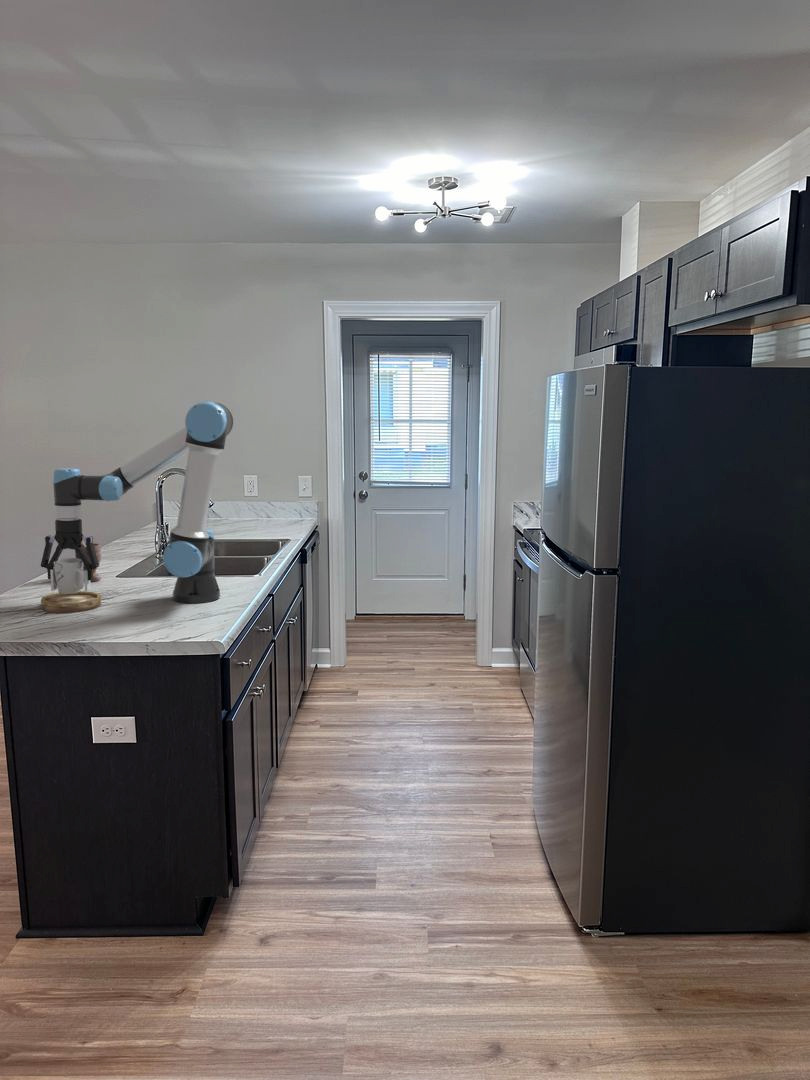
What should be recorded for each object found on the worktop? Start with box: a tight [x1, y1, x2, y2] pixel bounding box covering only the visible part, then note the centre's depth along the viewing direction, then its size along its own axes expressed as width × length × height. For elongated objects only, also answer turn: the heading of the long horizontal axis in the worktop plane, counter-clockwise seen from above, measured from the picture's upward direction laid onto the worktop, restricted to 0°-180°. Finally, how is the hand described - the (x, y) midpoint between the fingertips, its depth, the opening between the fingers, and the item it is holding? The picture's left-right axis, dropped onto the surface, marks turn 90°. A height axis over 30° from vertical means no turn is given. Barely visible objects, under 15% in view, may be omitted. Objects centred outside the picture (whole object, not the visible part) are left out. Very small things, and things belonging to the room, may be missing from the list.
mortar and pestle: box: [74, 540, 102, 583], centre depth 272 cm, size 12×9×20 cm
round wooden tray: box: [40, 590, 102, 614], centre depth 238 cm, size 17×17×3 cm
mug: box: [54, 557, 85, 594], centre depth 237 cm, size 11×8×10 cm
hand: (71, 589), depth 237 cm, fingers closed on mug, 10 cm apart
